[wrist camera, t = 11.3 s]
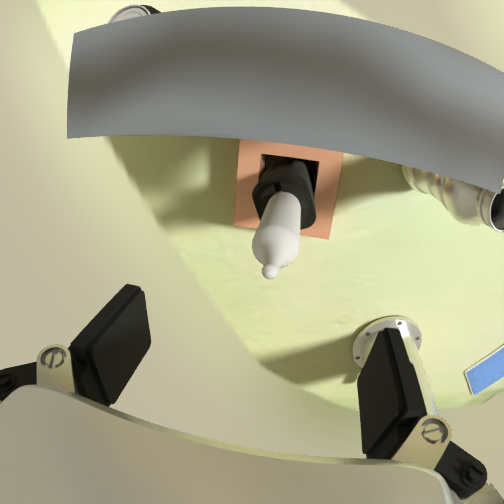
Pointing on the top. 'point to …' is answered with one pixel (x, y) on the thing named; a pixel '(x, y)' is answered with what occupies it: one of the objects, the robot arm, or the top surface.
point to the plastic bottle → (460, 197)
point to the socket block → (326, 165)
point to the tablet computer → (486, 371)
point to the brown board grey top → (292, 87)
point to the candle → (282, 213)
